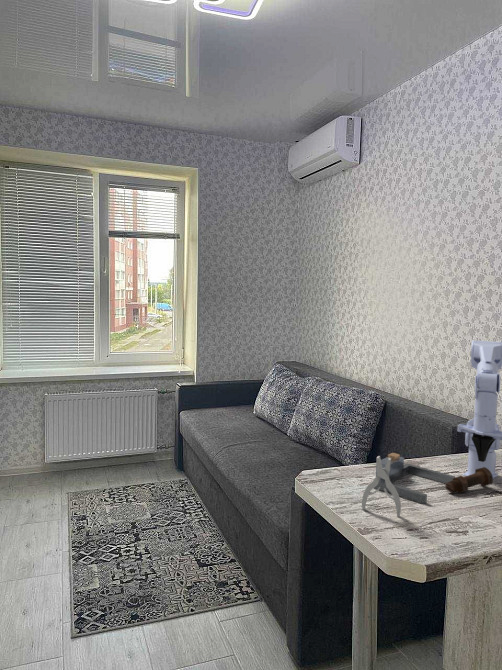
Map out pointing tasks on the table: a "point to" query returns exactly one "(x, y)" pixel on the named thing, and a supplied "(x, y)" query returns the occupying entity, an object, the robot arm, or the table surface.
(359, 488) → the table surface
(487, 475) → the bolt
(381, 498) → the table surface
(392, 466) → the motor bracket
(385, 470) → the pliers
